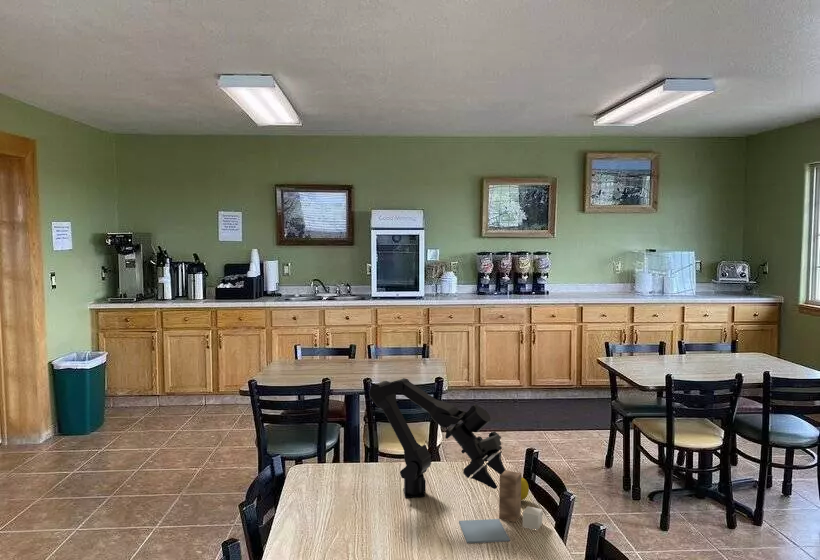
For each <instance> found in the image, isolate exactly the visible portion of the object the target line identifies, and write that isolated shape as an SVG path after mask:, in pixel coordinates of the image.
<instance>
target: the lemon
mask: <svg viewBox="0 0 820 560" xmlns="http://www.w3.org/2000/svg"><path fill="white" fill-rule="evenodd" d="M529 489H530V487H529V483H528V481H527V479H525V478H524V477H522V476H521V501H523V500H525V499H526V498H527V497H528V496H529V492H530V491H529Z"/></svg>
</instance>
